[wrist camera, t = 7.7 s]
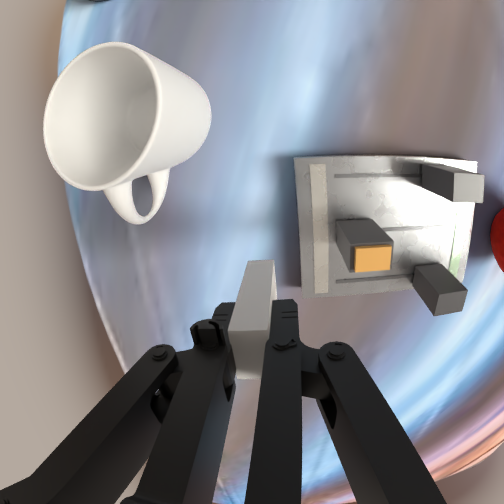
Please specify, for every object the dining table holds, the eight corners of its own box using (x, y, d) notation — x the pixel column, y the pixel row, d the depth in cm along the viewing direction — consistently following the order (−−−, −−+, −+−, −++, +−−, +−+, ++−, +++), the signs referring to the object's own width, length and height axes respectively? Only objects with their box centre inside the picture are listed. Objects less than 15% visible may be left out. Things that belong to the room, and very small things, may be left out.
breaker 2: (415, 266, 22) (439, 294, 17) (441, 263, 21) (467, 290, 17) (412, 285, 23) (433, 316, 18) (437, 282, 22) (461, 311, 18)
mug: (131, 206, 25) (58, 248, 15) (124, 84, 20) (43, 69, 10) (217, 203, 24) (172, 250, 14) (213, 67, 19) (163, 23, 9)
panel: (293, 157, 22) (294, 158, 20) (465, 159, 19) (477, 162, 17) (301, 287, 26) (302, 299, 24) (453, 273, 24) (462, 282, 22)
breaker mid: (336, 220, 21) (351, 246, 16) (372, 219, 21) (396, 243, 16) (336, 244, 22) (350, 275, 17) (371, 242, 22) (393, 272, 17)
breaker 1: (421, 163, 18) (454, 172, 14) (449, 165, 18) (484, 175, 13) (421, 188, 19) (453, 202, 15) (449, 188, 19) (482, 202, 14)
